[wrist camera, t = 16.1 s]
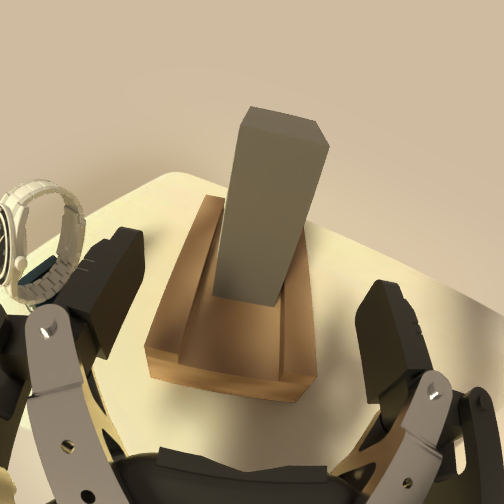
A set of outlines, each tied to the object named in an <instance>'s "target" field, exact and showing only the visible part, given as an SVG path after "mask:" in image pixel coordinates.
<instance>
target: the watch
mask: <svg viewBox="0 0 504 504" xmlns="http://www.w3.org/2000/svg"><path fill="white" fill-rule="evenodd" d="M55 192H56V193H59V194H60V195H61V196H62V198H63V199H64V203H65V206H64V215H63V217H62V228H61V235H60V240H59V244H58V248H57V252H56V254H57V255H59V256H58V258H56V257H55V256H54V255H52V256H51V257H49V258H48V259H47V260H45V261H44V262H43V263H41V264H40V265H38V266H37V267H36V268H34V269H33V270H32V271H30V272H29V273H28V274H27V275H25V276H24V277H23V278H21V276H22V274H23V272H24V270H25V268H26V267H27V263H28V262H27V260H26V257H27V240H26V228H25V224H26V220H27V217H28V213H29V207H28V206H26V205H27V204H28V203H29V202H31V201H32V200H33V198H34V199H35V198H37V197H40V196H42V195H43V194H44V193H46V194H49V193H55ZM85 226H86V220H85V219H84V215H83V209H82V207H81V205H80V202H79V201H78V199H77V198H76V197H75V196H74V195H73V194H72V193H70V192H69V191H67V190H65V189H64V188H62V187H60V186H58V185H57V184H54V183H52V182H51V181H48V180H41V179H35V180H31V181H26V182H24V183H22V184H20V185H19V186H16V187H15V188H13V189H12V190H11V191H9V192H8V193H6V194H5V195H4V197H3V198H2V200H1V201H0V287H1V286H2V287H3V288H4V289H5V291H6V292H7V293H8V295H9V296H10V297H11V298H12V299H14V300H15V301H18V302H19V303H22V304H25V305H26V307H27V309H28V310H29V311H30V312H33V311H34V310H35V309H36V308H38V307H40V306H42V305H46V304H52V303H53V302H54V301H55V299H56V297H57V296H58V294H59V293H60V291H61V290H62V288H63V287H64V285H65V284H66V282H67V281H68V279H69V278H70V276H71V275H72V273H73V271H74V268H76V269H77V266H78V263H79V260H80V256H81V252H82V247H83V242H84V236H85ZM20 278H21V279H20ZM19 279H20V280H19ZM18 280H19V281H18Z"/></svg>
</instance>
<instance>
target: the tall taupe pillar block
mask: <svg viewBox="0 0 504 504" xmlns="http://www.w3.org/2000/svg"><path fill="white" fill-rule="evenodd" d="M329 147H330V146H329V144H328V142H327V141H326V139H325V137H324V135H323V133H322V132H321V130H320V128H319V127H318V125H317V123H316V121H313V120H309V119H305V118H301V117H297V116H293V115H289V114H285V113H280V112H276V111H271V110H266V109H262V108H257V107H251V106H250V108H249V110H248V112H247V114H246V116H245V117H244V119H243V121H242V123H241V125H240V128H239V134H238V140H237V144H236V150H235V153H234V157H233V162H232V168H231V173H230V179H229V185H228V191H227V197H226V203H225V209H224V215H223V222H222V228H221V234H220V241H219V247H218V254H217V265H216V272H215V279H214V286H213V293H212V296H216V297H221V298H226V299H231V300H237V301H242V302H247V303H252V304H258V305H263V306H269V307H274V306H275V303H276V301H277V298H278V295H279V293H280V290H281V287H282V285H283V282H284V279H285V277H286V274H287V271H288V268H289V266H290V263H291V260H292V257H293V254H294V252H295V249H296V246H297V243H298V240H299V237H300V235H301V232H302V229H303V226H304V223H305V220H306V217H307V214H308V211H309V208H310V205H311V202H312V200H313V197H314V194H315V190H316V187H317V184H318V181H319V178H320V175H321V172H322V169H323V166H324V163H325V160H326V156H327V153H328V150H329Z"/></svg>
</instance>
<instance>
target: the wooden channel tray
mask: <svg viewBox="0 0 504 504" xmlns="http://www.w3.org/2000/svg"><path fill="white" fill-rule="evenodd" d="M224 203H225V198H221V197H216V196H210V195H206V196H205V198H204V200H203V202H202V204H201V207H200V209H199V211H198V213H197V215H196V218H195V220H194V222H193V224H192V227H191V229H190V231H189V234H188V236H187V238H186V240H185V243H184V245H183V247H182V250H181V252H180V255H179V257H178V259H177V262H176V264H175V266H174V269H173V271H172V274H171V276H170V279H169V281H168V284H167V286H166V289H165V291H164V294H163V296H162V299H161V301H160V304H159V307H158V309H157V312H156V315H155V317H154V320H153V323H152V325H151V328H150V331H149V333H148V336H147V339H146V342H145V345H144V348H145V353H146V358H147V362H148V367H149V371H150V376H151V378H155V379H159V380H163V381H167V382H171V383H175V384H180V385H184V386H189V387H193V388H198V389H203V390H208V391H213V392H219V393H225V394H231V395H237V396H243V397H250V398H258V399H266V400H275V401H284V402H296V401H297V400H298V399H299V397H300V396H301V395H302V394H303V393H304V392H305V390H306V389H307V388H308V387H309V386H310V384H311V383H312V382H313V381H314V380H315V378H316V377H317V365H316V349H315V335H314V322H313V310H312V299H311V288H310V278H309V268H308V259H307V250H306V242H305V233H304V226H303V229H302V232H301V235H300V237H299V240H298V243H297V246H296V249H295V252H294V254H293V257H292V260H291V263H290V266H289V268H288V271H287V274H286V277H285V279H284V282H283V285H282V287H281V290H280V293H279V295H278V298H277V301H276V303H275V306H274V307H269V306H263V305H258V304H252V303H247V302H242V301H237V300H231V299H226V298H221V297H216V296H212V293H213V286H214V279H215V272H216V265H217V254H218V247H219V241H220V234H221V228H222V222H223V215H224Z"/></svg>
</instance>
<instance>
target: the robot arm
mask: <svg viewBox="0 0 504 504" xmlns="http://www.w3.org/2000/svg"><path fill="white" fill-rule="evenodd" d="M144 272H145V258H144V238H143V232H142V231H140V230H136V229H131V228H126V227H119V228H118V229H117V231H116V232H115V234H114V235H113V236H112V238H111V239H110V240H108V239H103V240H101V241H100V242H98V243H97V244H95V245H94V246H92V247H91V248H90V250H89V251H88V253H87V254H86V255H85V257H84V260H82V261H81V262H80V264H79V265H78V266H77V269H75V271H74V272H73V273H72V275H71V276H70V278H69V279H68V281H67V282H66V284H65V285H64V287H63V288H62V290H61V291H60V293H59V294H58V296H57V297H56V299H55V301H54V302H53V303H52V304H46V305H42V306H40V307H38V308H36V309H35V310H34V311H33V312H31V314H30V315H29V316H24V315H7V314H6V312H5V310H4V308H3V307H2V305H1V304H0V504H15V501H14V495H15V494H16V486H15V484H14V482H12V479H11V477H10V475H9V474H8V472H7V470H8V465H9V461H10V457H11V452H12V448H13V445H14V441H15V437H16V434H17V430H18V427H19V424H20V420H21V417H22V414H23V411H24V408H25V405H26V402H27V409H28V415H29V419H30V423H31V428H32V432H33V435H34V439H35V443H36V446H37V450H38V453H39V456H40V459H41V462H42V465H43V468H44V471H45V474H46V477H47V480H48V482H49V485H50V487H51V490H52V492H53V495H54V497H55V499H54V500H52V501H50V502H48V503H46V504H504V465H503V457H502V449H501V443H500V437H499V431H498V426H497V421H496V417H495V412H494V407H493V403H492V400H491V397H490V395H489V394H488V393H487V391H486V390H484V389H483V388H481V387H475V388H473V389H472V390H471V391H469V392H468V393H467V394H464V393H461V392H458V391H455V390H452V387H451V385H450V383H449V381H448V379H447V378H446V377H445V376H444V375H443V374H442V373H440V372H438V371H435V370H433V367H432V363H431V360H430V356H429V353H428V350H427V347H426V344H425V340H424V337H423V335H421V333H422V331H421V328H420V326H419V325H418V320H417V317H416V314H415V312H414V310H413V308H412V307H411V306H410V304H409V303H408V301H407V300H406V299H404V298H403V295H402V292H401V290H400V287H399V285H398V284H397V283H394V282H389V281H384V280H376V281H375V282H374V284H373V285H372V287H371V288H370V290H369V292H368V293H367V295H366V296H365V298H364V300H363V301H362V303H361V304H360V306H359V308H358V310H357V312H356V316H355V327H356V332H357V337H358V343H359V349H360V355H361V361H362V367H363V374H364V380H365V388H366V395H367V403H368V404H380V410H378V411H377V412H376V414H375V415H374V417H373V419H372V421H371V422H370V424H369V425H368V427H367V429H366V430H365V432H364V434H363V435H362V437H361V438H360V440H359V441H358V443H357V444H356V446H355V447H354V449H353V450H352V452H351V453H350V454H349V455H348V456H347V457H346V458H345V459H344V460H342V461H341V462H340V463H339V464H338V465H337V466H336V467H335V468H334V470H333V471H332V472H331V473H330V474H329V473H327V466H284V467H279V468H273V469H267V470H261V471H254V472H242V471H239V470H236V469H233V468H231V467H228V466H225V465H223V464H220V463H218V462H215V461H213V460H210V459H208V458H206V457H203V456H199V455H194V454H189V453H184V452H180V451H175V450H171V449H167V448H163V447H160V448H159V453H141V454H136V455H132V456H128V454H127V452H126V450H125V448H124V445H123V443H122V441H121V439H120V437H119V435H118V433H117V431H116V429H115V427H114V425H113V423H112V421H111V419H110V417H109V414H108V411H107V409H106V406H105V403H104V401H103V398H102V395H101V392H100V389H99V386H98V383H97V380H96V377H95V373H94V370H93V367H92V366H93V363H94V361H95V359H96V357H99V358H102V359H105V360H107V359H108V357H109V354H110V352H111V349H112V347H113V345H114V342H115V340H116V338H117V335H118V333H119V331H120V329H121V326H122V324H123V322H124V320H125V317H126V315H127V313H128V311H129V309H130V306H131V304H132V302H133V300H134V298H135V296H136V294H137V292H138V290H139V287H140V285H141V283H142V281H143V277H144ZM31 388H32V391H33V392H32V396H29V394H30V391H31ZM462 436H463V439H464V446H465V454H466V467H465V470H464V471H463V473H461V474H460V475H458V474H457V470H456V459H455V449H454V441H455V440H457V439H459V438H461V437H462Z"/></svg>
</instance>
